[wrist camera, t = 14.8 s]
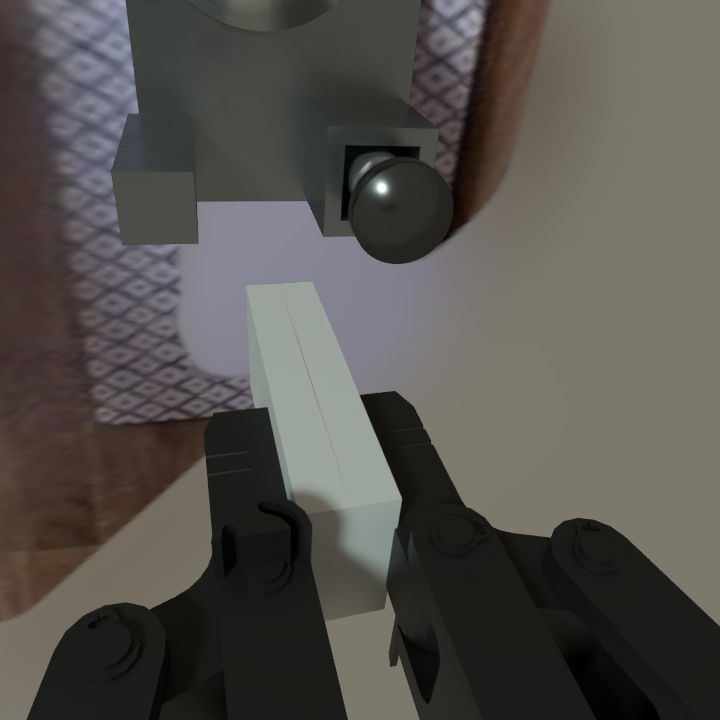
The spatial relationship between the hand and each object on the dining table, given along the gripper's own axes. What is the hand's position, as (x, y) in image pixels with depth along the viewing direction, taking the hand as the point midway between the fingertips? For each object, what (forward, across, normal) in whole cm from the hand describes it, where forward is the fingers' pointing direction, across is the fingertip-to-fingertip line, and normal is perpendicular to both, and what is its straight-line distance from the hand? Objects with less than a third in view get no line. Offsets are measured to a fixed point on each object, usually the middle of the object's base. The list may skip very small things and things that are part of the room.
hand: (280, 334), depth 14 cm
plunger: (+20, +7, -2) cm, 21 cm away
